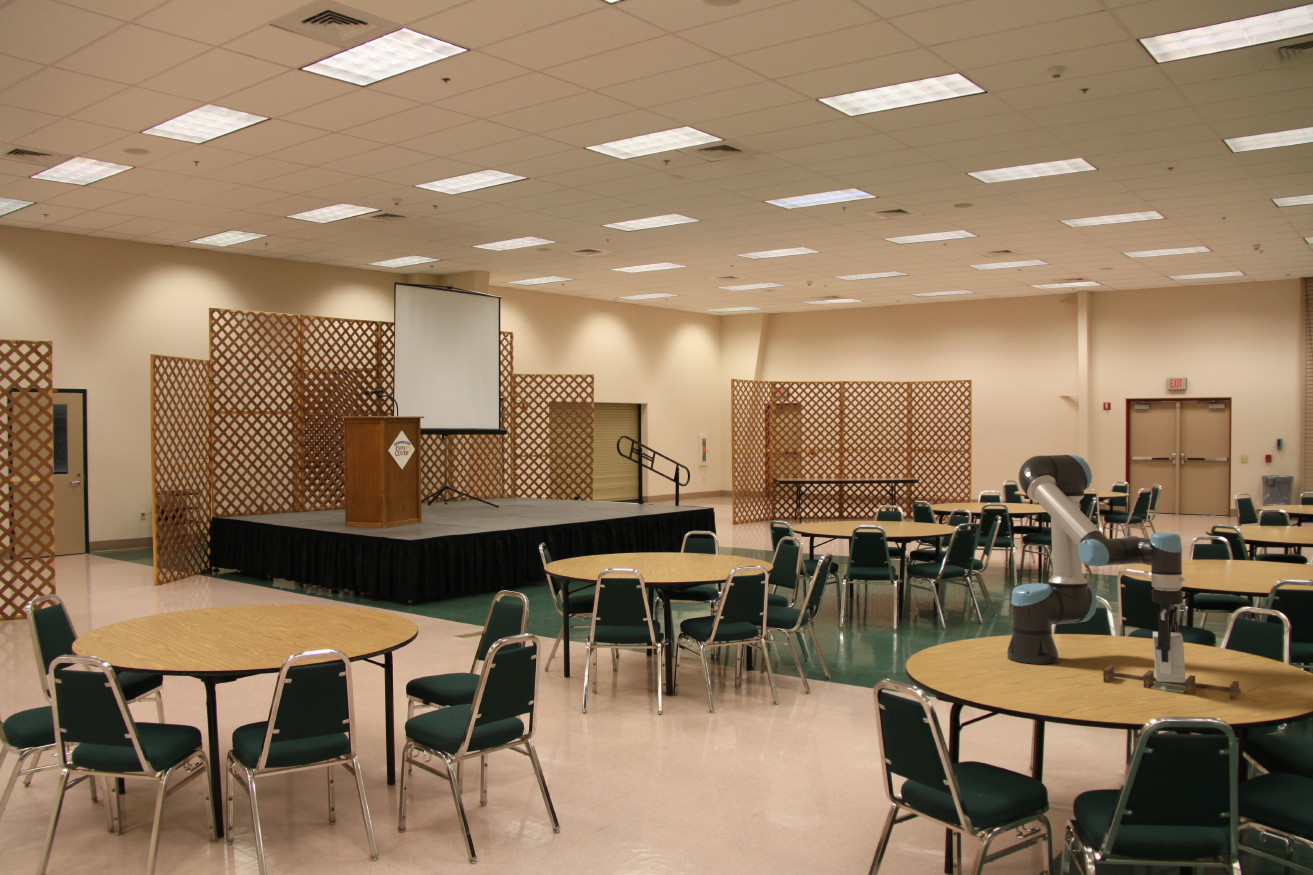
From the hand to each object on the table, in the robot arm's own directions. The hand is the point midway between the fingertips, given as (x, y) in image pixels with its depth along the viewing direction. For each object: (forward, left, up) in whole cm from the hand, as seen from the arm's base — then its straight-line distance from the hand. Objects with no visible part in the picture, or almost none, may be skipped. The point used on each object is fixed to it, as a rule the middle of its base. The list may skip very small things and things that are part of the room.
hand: (1169, 670), depth 259 cm
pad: (0, 0, -5) cm, 5 cm away
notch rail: (0, +1, -5) cm, 5 cm away
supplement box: (0, 0, -3) cm, 3 cm away
